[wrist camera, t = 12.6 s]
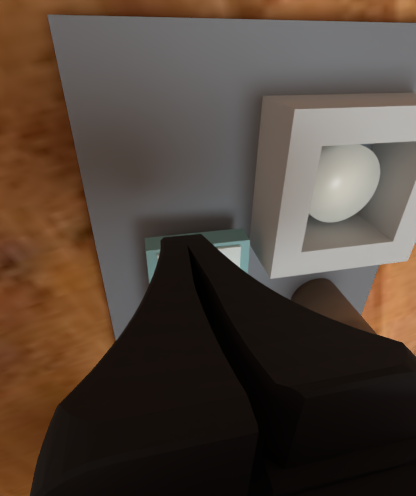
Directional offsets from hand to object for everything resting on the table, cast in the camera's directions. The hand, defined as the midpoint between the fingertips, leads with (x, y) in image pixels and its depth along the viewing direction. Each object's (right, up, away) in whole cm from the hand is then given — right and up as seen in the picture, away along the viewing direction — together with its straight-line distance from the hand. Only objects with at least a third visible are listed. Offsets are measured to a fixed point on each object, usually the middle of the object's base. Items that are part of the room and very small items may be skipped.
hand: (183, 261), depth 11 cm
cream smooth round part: (+6, +4, +5) cm, 9 cm away
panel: (+3, +2, +7) cm, 8 cm away
